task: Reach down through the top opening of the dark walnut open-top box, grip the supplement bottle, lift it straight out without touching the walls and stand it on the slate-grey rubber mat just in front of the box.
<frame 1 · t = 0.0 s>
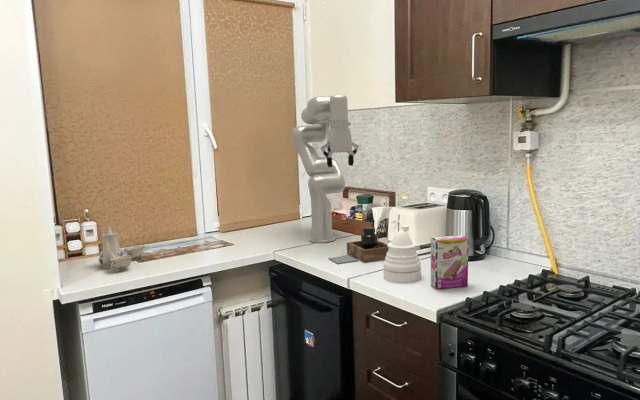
hand: (340, 166, 206), 37 cm above the worktop, tool pointing down, fingers open, 9 cm apart
open-top box: (369, 256, 200), on the worktop
candy bar box: (449, 287, 159), on the worktop
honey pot: (402, 277, 170), on the worktop
grey mat: (343, 260, 196), on the worktop
chinaware: (120, 265, 202), on the worktop
supplement bottle: (369, 256, 200), resting in open-top box
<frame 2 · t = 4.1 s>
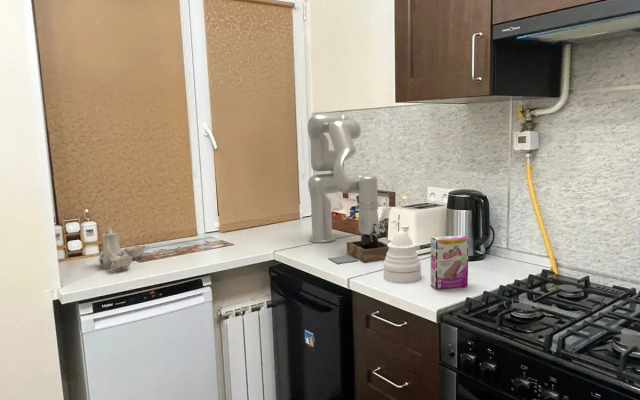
hand: (369, 248, 200), 3 cm above the worktop, tool pointing down, fingers closed on supplement bottle, 6 cm apart
supplement bottle: (369, 256, 200), resting in open-top box, touching gripper
everything else where it was.
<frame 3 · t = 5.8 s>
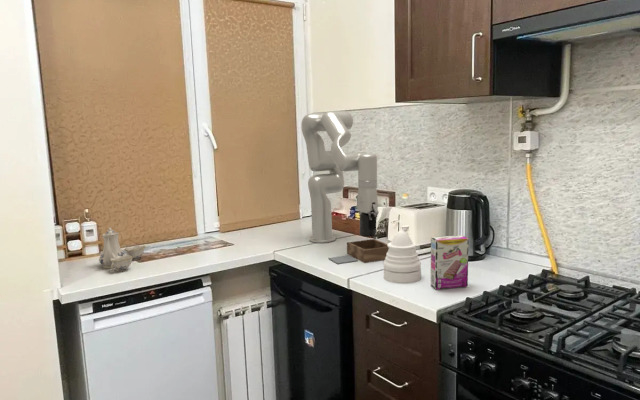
hand: (368, 227, 199), 12 cm above the worktop, tool pointing down, fingers closed on supplement bottle, 6 cm apart
supplement bottle: (368, 235, 200), point 9 cm above the worktop, touching gripper
everything else where it was.
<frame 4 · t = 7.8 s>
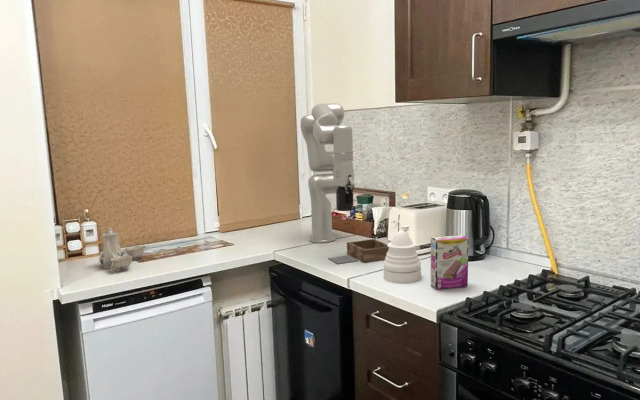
hand: (344, 201, 193), 24 cm above the worktop, tool pointing down, fingers closed on supplement bottle, 6 cm apart
supplement bottle: (345, 210, 194), point 20 cm above the worktop, touching gripper
everything else where it was.
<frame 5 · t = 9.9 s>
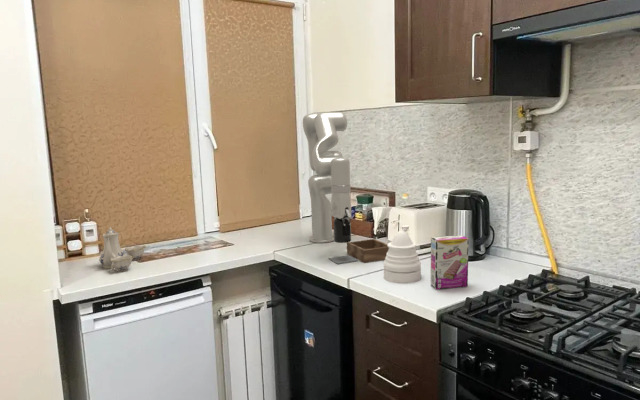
hand: (342, 233, 194), 11 cm above the worktop, tool pointing down, fingers closed on supplement bottle, 6 cm apart
supplement bottle: (342, 241, 195), point 8 cm above the worktop, touching gripper
everything else where it was.
when the fingers open (5 cm above the worktop, at t = 11.9 s): supplement bottle stays where it is, resting on grey mat.
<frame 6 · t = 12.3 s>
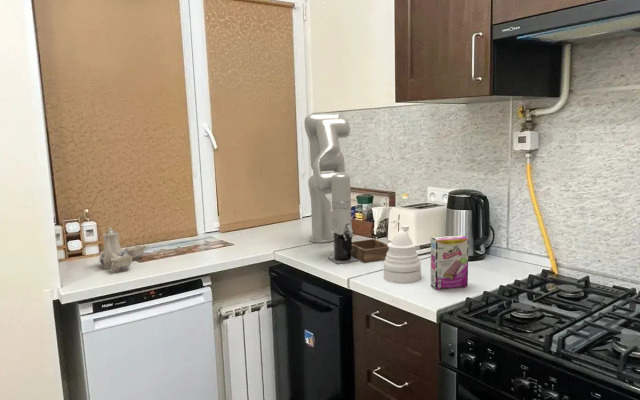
hand: (342, 247, 195), 5 cm above the worktop, tool pointing down, fingers open, 9 cm apart
supplement bottle: (342, 259, 196), resting on grey mat
everything else where it was.
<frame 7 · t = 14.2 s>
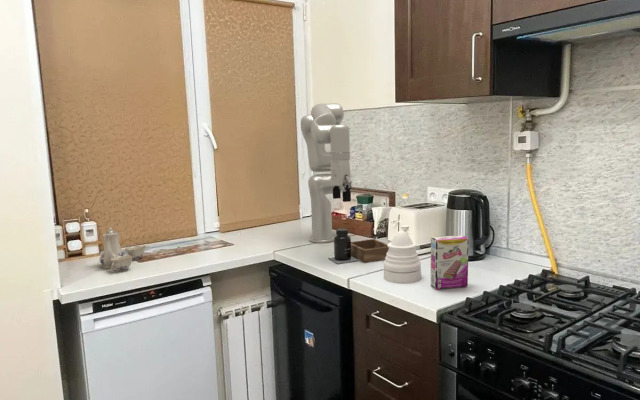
hand: (341, 199, 193), 24 cm above the worktop, tool pointing down, fingers open, 9 cm apart
nothing on the worktop moved.
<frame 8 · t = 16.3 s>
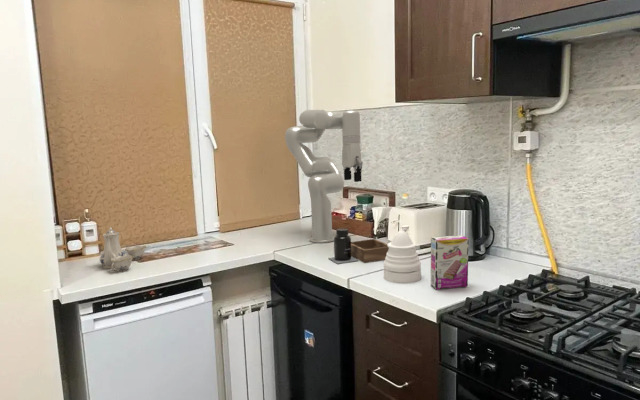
hand: (352, 180, 208), 30 cm above the worktop, tool pointing down, fingers open, 9 cm apart
nothing on the worktop moved.
at the end: supplement bottle inside the target area on the grey mat (0.3 cm from its centre), point 0.3 cm above the grey mat's base; supplement bottle tilted 0°; supplement bottle touching grey mat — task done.
